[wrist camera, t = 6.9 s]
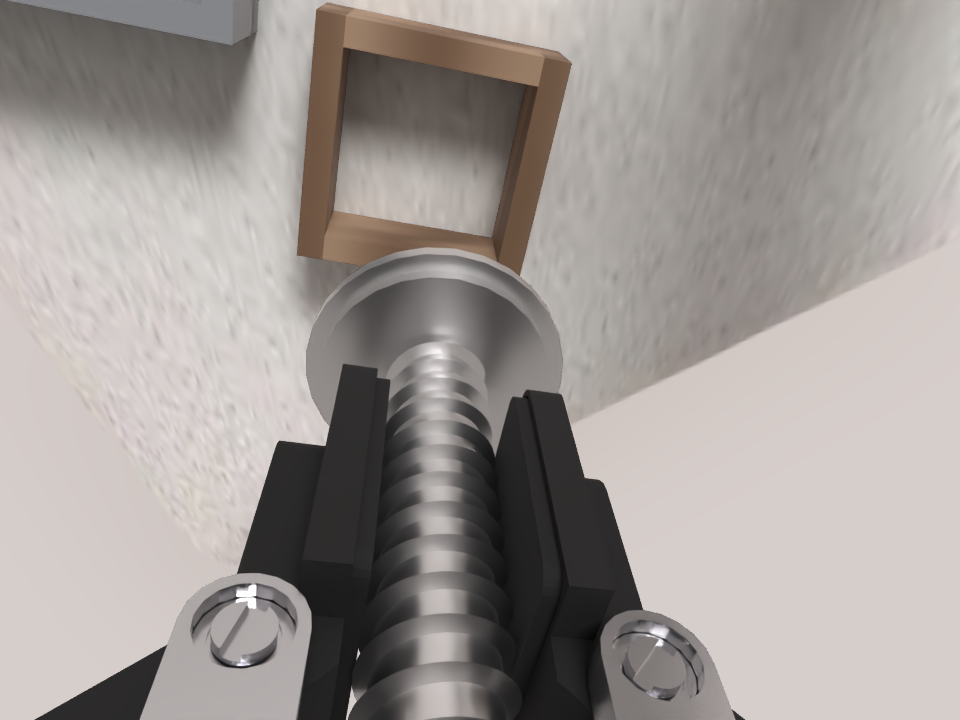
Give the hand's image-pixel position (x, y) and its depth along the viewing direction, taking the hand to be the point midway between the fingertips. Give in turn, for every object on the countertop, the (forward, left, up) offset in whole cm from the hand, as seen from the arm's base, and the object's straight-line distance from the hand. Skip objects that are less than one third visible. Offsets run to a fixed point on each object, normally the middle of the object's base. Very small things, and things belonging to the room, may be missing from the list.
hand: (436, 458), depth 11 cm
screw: (0, 0, -5) cm, 5 cm away
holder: (0, 0, -21) cm, 21 cm away
